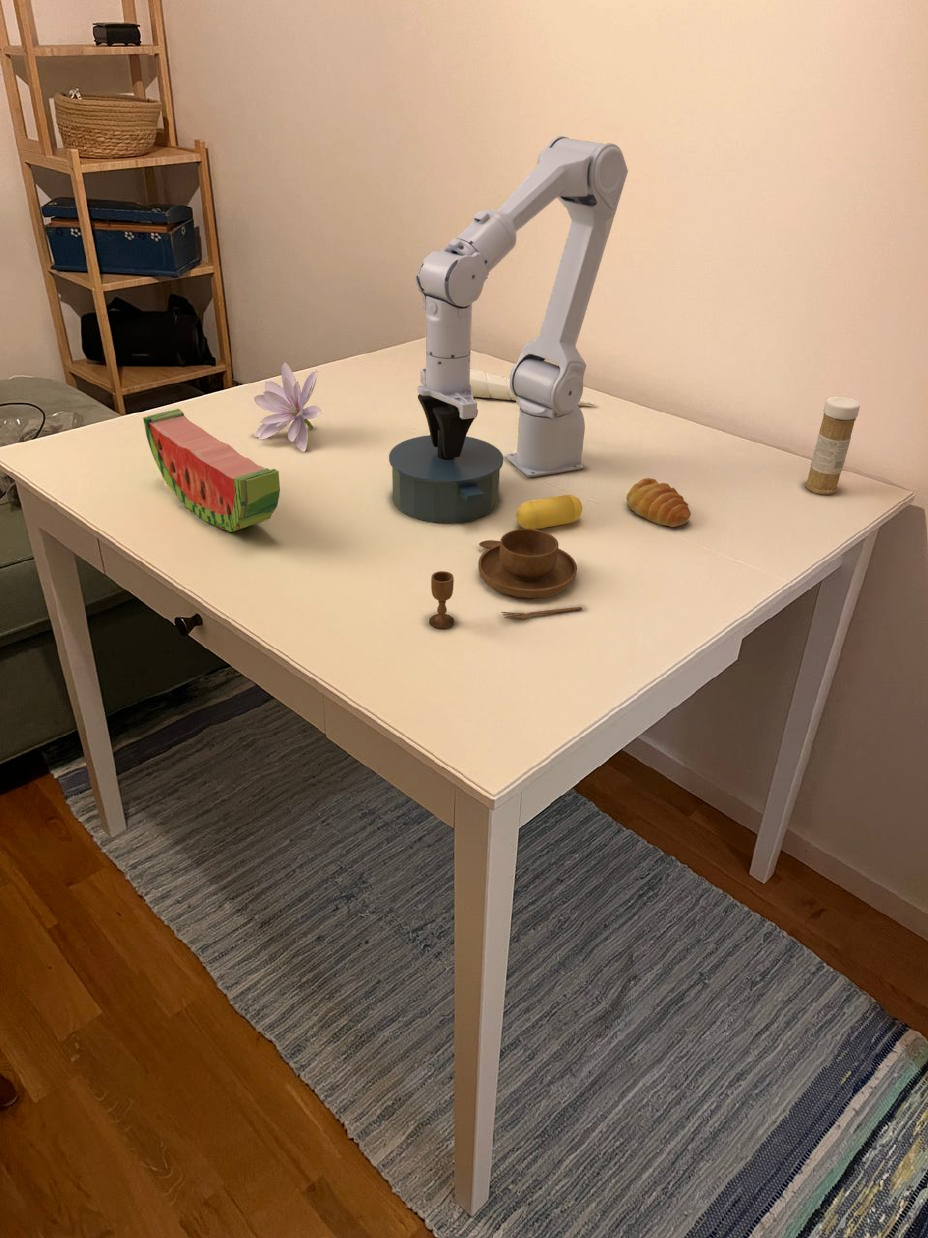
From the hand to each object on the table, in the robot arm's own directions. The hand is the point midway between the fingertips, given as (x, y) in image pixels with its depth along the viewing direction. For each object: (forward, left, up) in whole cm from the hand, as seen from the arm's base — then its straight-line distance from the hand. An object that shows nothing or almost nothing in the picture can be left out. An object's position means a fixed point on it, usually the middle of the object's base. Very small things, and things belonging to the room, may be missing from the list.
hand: (446, 451), depth 126 cm
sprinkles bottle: (-53, +16, -7) cm, 56 cm away
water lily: (+15, -29, -7) cm, 33 cm away
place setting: (+3, +23, -7) cm, 24 cm away
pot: (0, 0, -7) cm, 7 cm away
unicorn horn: (-28, -32, -7) cm, 43 cm away
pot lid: (0, 0, -1) cm, 1 cm away
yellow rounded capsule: (-10, +12, -7) cm, 17 cm away
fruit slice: (+30, -7, -7) cm, 32 cm away
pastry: (-26, +14, -7) cm, 30 cm away
